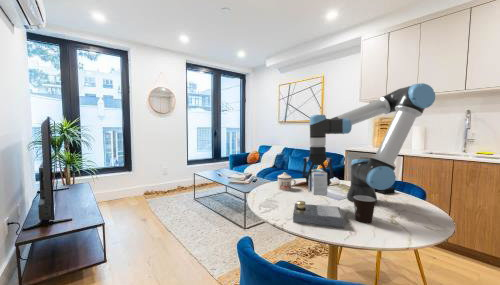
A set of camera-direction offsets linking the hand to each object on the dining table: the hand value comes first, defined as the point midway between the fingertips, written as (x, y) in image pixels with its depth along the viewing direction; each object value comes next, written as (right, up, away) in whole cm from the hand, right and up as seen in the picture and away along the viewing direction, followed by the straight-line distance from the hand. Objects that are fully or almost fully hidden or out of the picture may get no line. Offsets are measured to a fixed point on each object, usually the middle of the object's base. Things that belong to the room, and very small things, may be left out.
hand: (317, 191), depth 113 cm
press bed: (-4, -9, -13) cm, 17 cm away
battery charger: (+50, -8, +32) cm, 60 cm away
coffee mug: (+16, -10, -13) cm, 23 cm away
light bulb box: (0, 0, 0) cm, 1 cm away
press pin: (-11, -6, -11) cm, 17 cm away
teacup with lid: (-10, -7, +34) cm, 36 cm away
